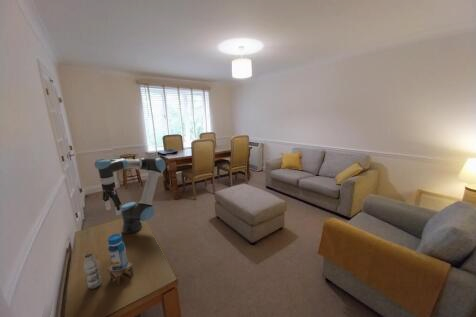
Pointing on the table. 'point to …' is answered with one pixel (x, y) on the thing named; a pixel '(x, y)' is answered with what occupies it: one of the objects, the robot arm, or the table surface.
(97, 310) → the table surface
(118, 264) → the blue lidded jar
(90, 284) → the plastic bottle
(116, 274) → the brown piece
